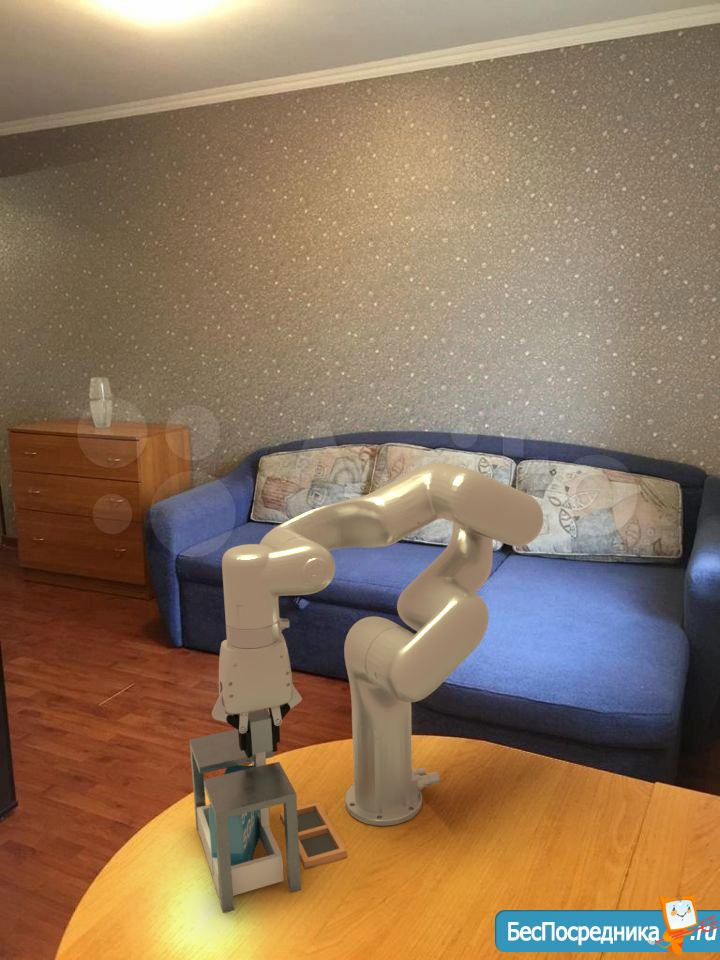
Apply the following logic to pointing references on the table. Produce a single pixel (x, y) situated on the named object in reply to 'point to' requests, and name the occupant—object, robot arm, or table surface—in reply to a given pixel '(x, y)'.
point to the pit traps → (316, 837)
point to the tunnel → (242, 800)
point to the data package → (238, 830)
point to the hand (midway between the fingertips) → (259, 749)
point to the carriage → (270, 866)
